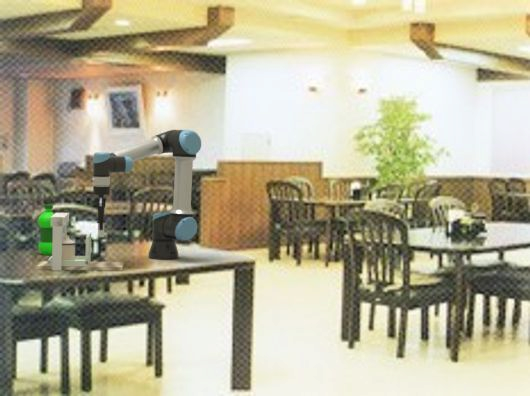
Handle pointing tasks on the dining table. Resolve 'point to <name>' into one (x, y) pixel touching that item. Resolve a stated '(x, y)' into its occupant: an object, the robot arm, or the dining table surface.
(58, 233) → the press frame
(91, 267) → the press track
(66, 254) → the teacup with lid
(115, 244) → the dining table surface
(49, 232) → the plastic bottle
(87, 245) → the press carriage
